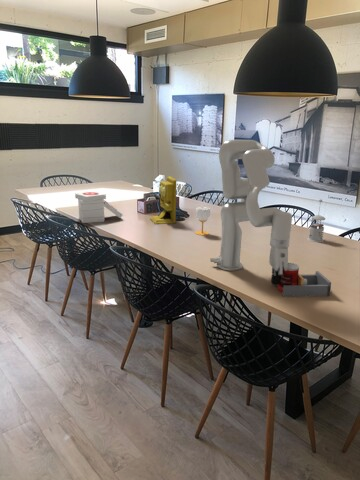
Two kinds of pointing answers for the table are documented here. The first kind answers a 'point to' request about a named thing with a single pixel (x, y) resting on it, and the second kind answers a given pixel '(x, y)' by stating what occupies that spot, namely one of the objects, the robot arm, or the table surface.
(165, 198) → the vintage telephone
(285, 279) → the canned food
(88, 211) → the pizza boxes
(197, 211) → the cup
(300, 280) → the pusher
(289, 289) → the frame
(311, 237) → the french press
